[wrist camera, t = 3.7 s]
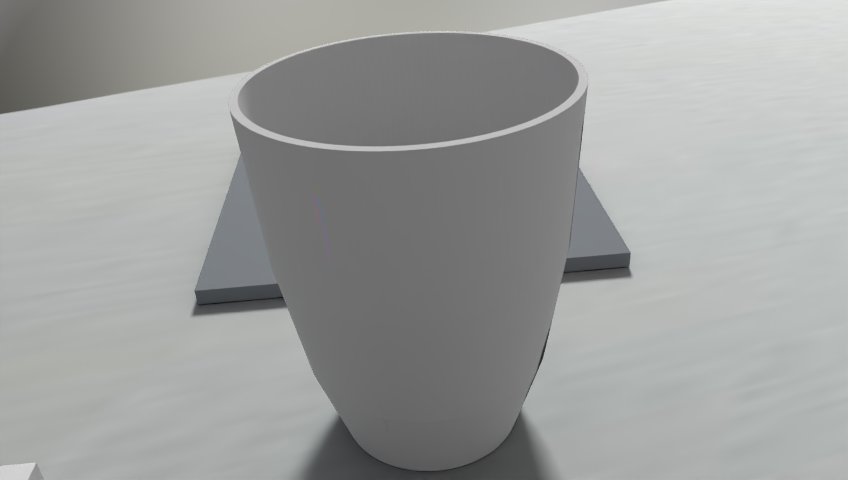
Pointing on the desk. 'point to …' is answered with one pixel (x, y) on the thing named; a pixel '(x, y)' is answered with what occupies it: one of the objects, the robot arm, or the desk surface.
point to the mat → (254, 279)
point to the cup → (418, 225)
